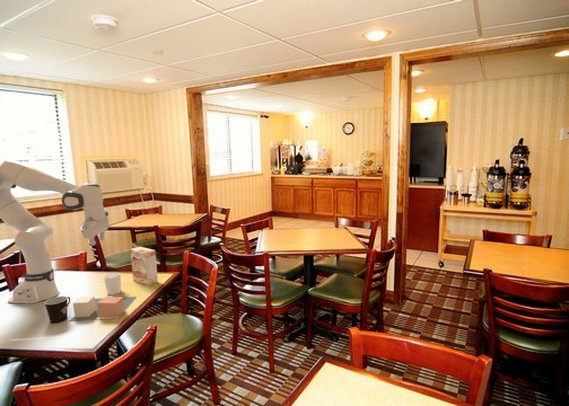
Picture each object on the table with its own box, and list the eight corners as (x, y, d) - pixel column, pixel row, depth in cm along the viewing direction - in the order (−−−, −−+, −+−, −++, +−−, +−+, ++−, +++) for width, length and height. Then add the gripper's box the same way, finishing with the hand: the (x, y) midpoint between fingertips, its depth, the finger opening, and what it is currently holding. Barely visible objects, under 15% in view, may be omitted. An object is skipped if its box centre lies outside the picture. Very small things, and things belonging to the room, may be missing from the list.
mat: (68, 322, 156) (68, 321, 156) (93, 299, 179) (93, 298, 179) (118, 319, 157) (118, 318, 157) (137, 297, 181) (137, 296, 181)
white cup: (124, 289, 191) (123, 272, 190) (116, 295, 183) (114, 278, 182) (111, 289, 192) (109, 272, 190) (102, 295, 184) (100, 277, 183)
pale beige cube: (74, 317, 159) (72, 303, 158) (81, 310, 166) (80, 297, 165) (89, 316, 160) (87, 302, 159) (96, 310, 166) (94, 296, 165)
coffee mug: (53, 327, 151) (50, 306, 150) (44, 322, 156) (41, 301, 154) (80, 316, 161) (77, 296, 160) (70, 312, 166) (68, 292, 164)
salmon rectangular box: (116, 317, 158) (115, 303, 157) (98, 317, 159) (97, 302, 158) (125, 310, 165) (123, 297, 164) (107, 310, 166) (105, 296, 164)
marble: (107, 303, 174) (106, 297, 173) (109, 300, 177) (109, 295, 176) (113, 302, 174) (112, 297, 173) (115, 300, 177) (115, 294, 176)
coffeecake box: (132, 280, 205) (129, 249, 202) (143, 276, 211) (140, 246, 208) (147, 285, 196) (144, 253, 193) (158, 281, 202) (155, 249, 199)
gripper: (91, 219, 161) (94, 247, 163) (109, 211, 181) (112, 237, 183) (77, 219, 160) (80, 248, 163) (97, 212, 181) (100, 237, 183)
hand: (97, 242), depth 173 cm, fingers open, 8 cm apart
